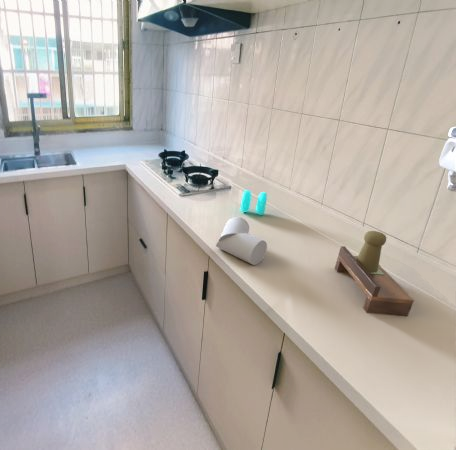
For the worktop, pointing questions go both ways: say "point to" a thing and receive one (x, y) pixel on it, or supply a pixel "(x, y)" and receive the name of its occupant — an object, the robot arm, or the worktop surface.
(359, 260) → the olive pawn shape
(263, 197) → the cyan twin rounded posts
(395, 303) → the shelf
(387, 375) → the worktop surface
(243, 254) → the bent grey cylinder
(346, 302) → the worktop surface
